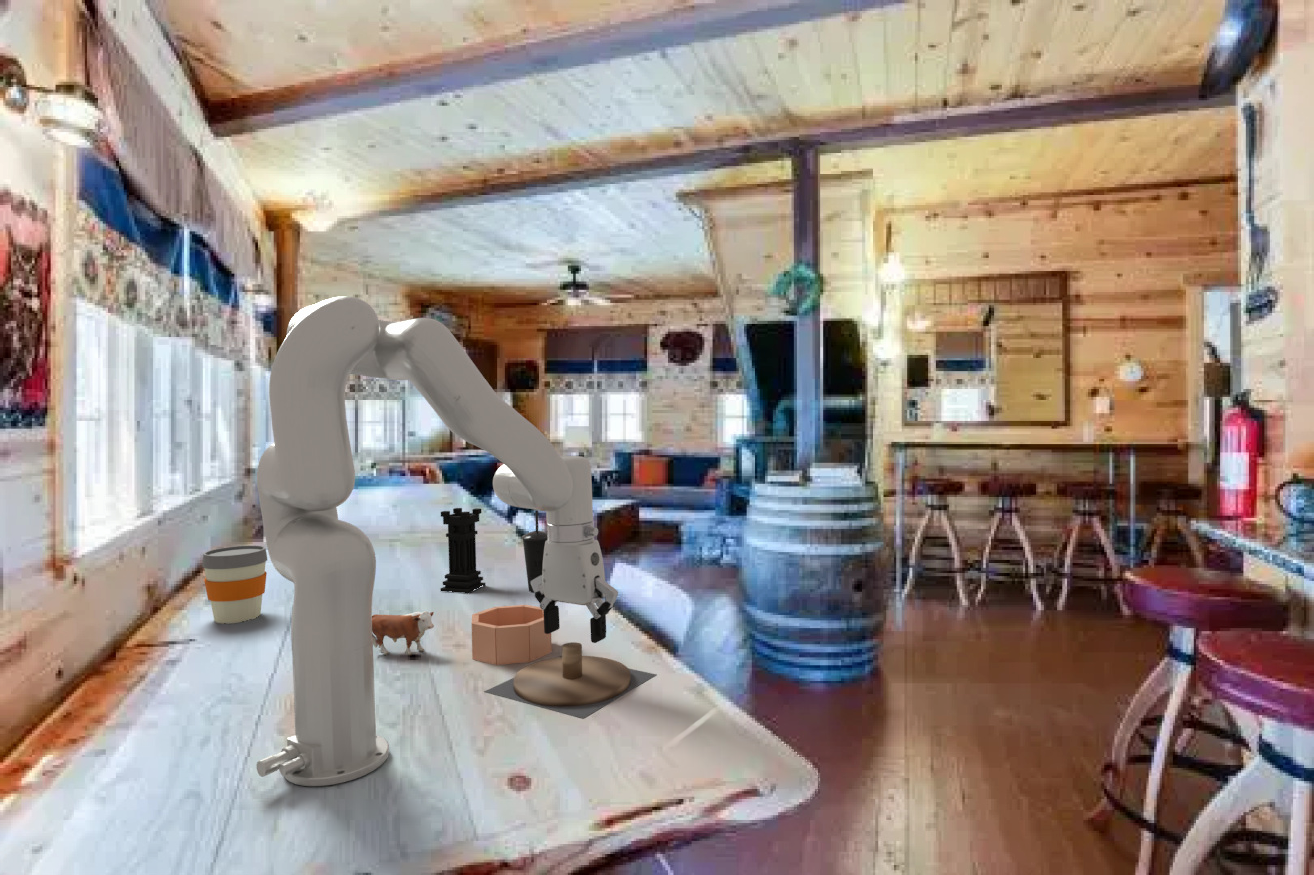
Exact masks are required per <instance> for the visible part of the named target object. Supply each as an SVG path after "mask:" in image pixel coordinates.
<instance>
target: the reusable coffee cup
mask: <svg viewBox="0 0 1314 875" xmlns="http://www.w3.org/2000/svg"><path fill="white" fill-rule="evenodd" d="M266 547H267V546H263V545H256V544H253V545H235V546H234V545H233V546H226V547H221V548H214V549H210V550H207V551H205V552H203V554H202V564H201V566H202V568H203V569H204V574H205V578H204V580H203V581H204V585H205V592H206V596H207V599H208V601H210V605H211V611H212V616H213V621H214V623H216V624H224V623H226V624H237V623H243V622H242V621H244V622H247V621H246V620H248V621H250V620H249V619H252V620H254V619H257V618H259V617H260V616H261V613H262V602H263V595H264V594H265V591H266V582H267V573H268V572H267V571H266V564H267V563H266V562H267V561H268V554H267V548H266ZM259 615H260V616H259ZM258 616H259V617H258ZM256 617H257V618H256Z"/></svg>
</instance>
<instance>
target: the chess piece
mask: <svg viewBox="0 0 1314 875" xmlns="http://www.w3.org/2000/svg"><path fill="white" fill-rule="evenodd" d="M480 514H482V508H473V509H472V512H471V513H470V511H463V508H462V507H455V508H453V509H452V513H451V511H450V510H443V511H442V510H441V511H440V517H441V518H442V521H443V522H442V524H443V525H447V533H446V534H445V537H446V538H447V539H448V573H446V574H445V575H444V579H445V580H443V581H442V586H443V587H441V588H440V592H441V591H452V592H451V593H454V592H465V593H464V594H468V593H469V592H471V591H473V590H474V589H477V588H479V587H480V586H482V585H485V586H486V582H482V581H483V580H484V576H479V575H481V574H482V572H481V570H477V550H476V549H477V548H476V546H477V545H476V544H477V543H476V535H478V530H476V523H478V522H480ZM477 590H478V589H477ZM473 592H474V591H473ZM471 593H472V592H471ZM469 594H470V593H469Z"/></svg>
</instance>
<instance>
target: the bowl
mask: <svg viewBox="0 0 1314 875" xmlns="http://www.w3.org/2000/svg"><path fill="white" fill-rule="evenodd" d="M552 648H553V647H552V633H549V634H545V633H544V613H543V610H542V609H541V608H540V606H536V605H529V604H517V605H504V606H503V605H502V606H501V605H500V606H493V607H491V608H487V609H484V610H481V611H478V612H476V613H472V615H471V651H472V652H471V655H472V656H471V657H472V660H474V661H477V662H482V663H486V664H490V665H493V666H494V665H495V666H499V665H510V664H511V665H512V664H514V665H515V664H523V663H531V662H533V661H536V660H538V659H540V658H542V657H544V656H546V655H549V654H551V653H552V650H553V649H552Z"/></svg>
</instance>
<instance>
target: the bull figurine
mask: <svg viewBox="0 0 1314 875" xmlns="http://www.w3.org/2000/svg"><path fill="white" fill-rule="evenodd" d="M433 615H434V611H431V612H430V613H429V611H426V610H424V611H422V612H421V611H414V612H411V613H407V614H395V615H394V614H372V639H373V647H374V648H379V649H380V653H381V654H383V655H384V656H388V655H390V652H389V651H388V650H387V648H386V647H385V645H384V639H385V636H386V637H388V638H389V639H392V640H393V643H396V642H398V641H397V640H399V639H405V641H406V642H405V643H406V649H405V651H404V653H405V654H406V655H407V656H412V655H413V653H412V650H411V646H412V644H413V642H415V644H416V650H417V651H418V652H424V651H425V649H424V648H423V646H422V645H421V638H422V637H423V636H424V635H425V632H426V631H428V630H432V629H434V627H435V625H434V623H433V622H432V617H433Z"/></svg>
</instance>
